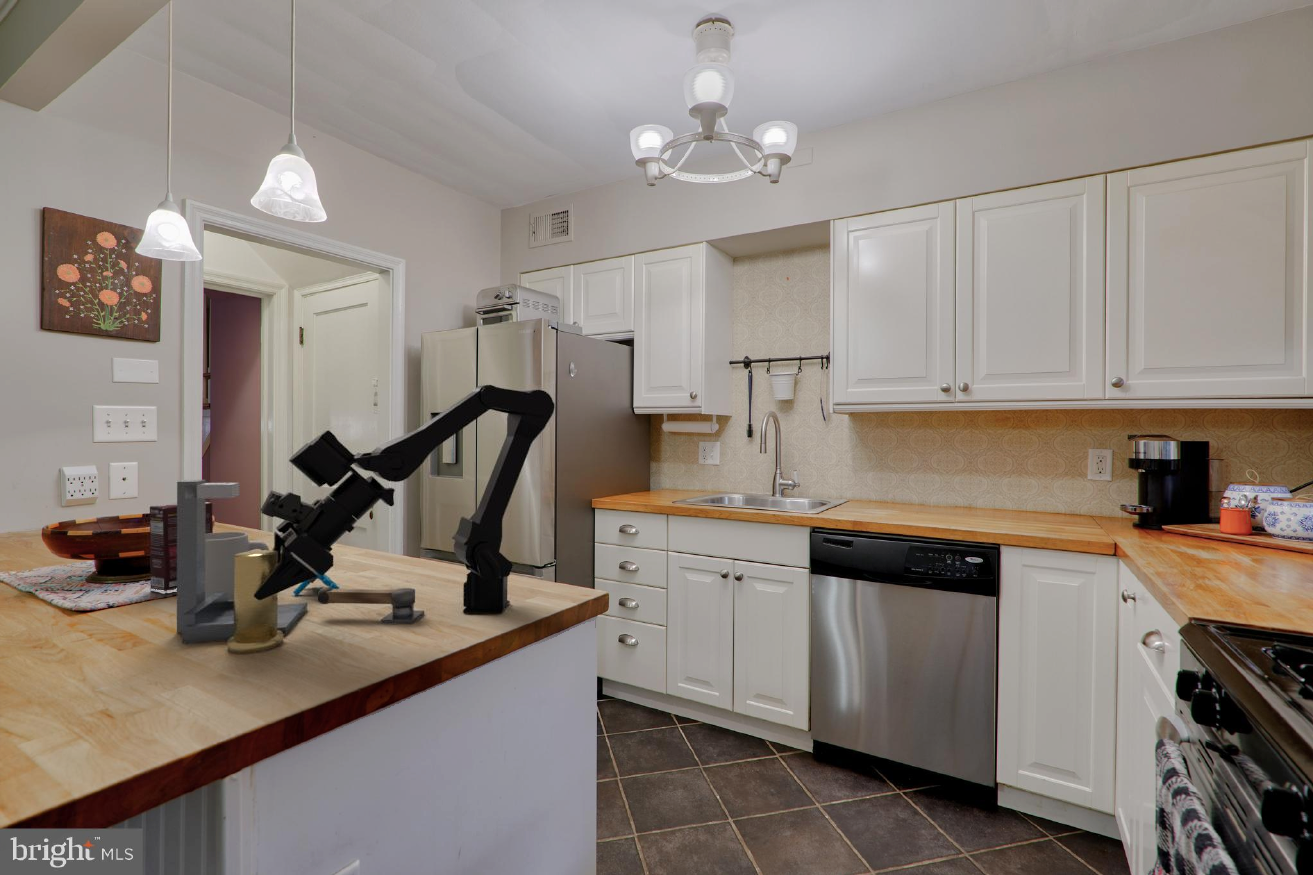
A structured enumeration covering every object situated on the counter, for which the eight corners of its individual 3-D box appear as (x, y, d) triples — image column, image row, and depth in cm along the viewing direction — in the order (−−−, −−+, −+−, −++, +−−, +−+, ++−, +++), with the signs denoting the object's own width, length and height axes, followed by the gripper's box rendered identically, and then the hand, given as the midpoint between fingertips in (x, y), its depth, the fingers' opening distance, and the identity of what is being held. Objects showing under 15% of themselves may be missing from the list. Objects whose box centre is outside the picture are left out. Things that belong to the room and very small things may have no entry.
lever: (418, 602, 102) (418, 586, 102) (409, 608, 99) (410, 592, 99) (323, 600, 102) (324, 584, 102) (311, 606, 99) (312, 590, 99)
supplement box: (198, 581, 122) (198, 500, 121) (214, 584, 120) (214, 502, 119) (147, 592, 114) (148, 505, 113) (163, 595, 112) (164, 507, 111)
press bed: (307, 609, 105) (308, 476, 105) (284, 636, 92) (285, 484, 91) (200, 615, 100) (200, 476, 100) (159, 645, 87) (160, 485, 87)
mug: (191, 606, 106) (191, 541, 105) (188, 595, 112) (189, 534, 112) (273, 595, 113) (273, 534, 113) (266, 585, 120) (267, 528, 120)
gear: (343, 588, 112) (298, 551, 110) (316, 614, 110) (270, 578, 107) (341, 582, 122) (300, 549, 119) (317, 607, 120) (274, 573, 117)
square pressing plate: (424, 614, 103) (424, 601, 103) (412, 623, 98) (412, 609, 98) (394, 613, 103) (394, 600, 103) (380, 623, 98) (380, 609, 98)
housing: (292, 637, 91) (293, 549, 91) (264, 654, 84) (265, 559, 84) (247, 637, 91) (248, 548, 91) (215, 653, 84) (216, 558, 84)
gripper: (293, 467, 98) (206, 542, 92) (307, 476, 83) (203, 567, 76) (348, 513, 103) (268, 589, 96) (370, 530, 87) (277, 621, 81)
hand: (254, 590), depth 87 cm, fingers open, 9 cm apart
